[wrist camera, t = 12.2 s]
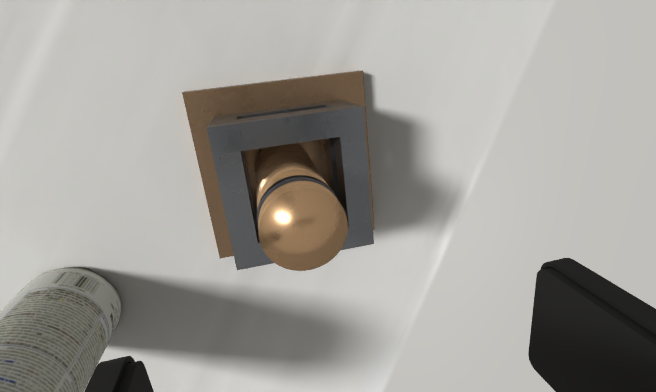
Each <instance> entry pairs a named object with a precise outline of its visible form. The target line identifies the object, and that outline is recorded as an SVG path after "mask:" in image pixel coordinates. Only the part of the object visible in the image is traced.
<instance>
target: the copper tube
mask: <svg viewBox="0 0 656 392" xmlns="http://www.w3.org/2000/svg"><path fill="white" fill-rule="evenodd" d="M255 178H256V196H257V228H258V232H259V240H260V243H261V246H262V248H263V250H264V252H265V254H266V255H267V256H268V257H269V258H270V259H271V260H272V261H273V262H274V263H276V264H277V265H279V266H281V267H283V268H286V269H290V270H297V271H305V270H311V269H315V268H318V267H320V266H322V265H324V264H326V263H328V262H329V261H330V260H332V259H333V258H334V257H335V256H336V255H337V254H338V253H339V251H340V250H341V248H342V247H343V245H344V243H345V240H346V237H347V233H348V221H347V216H346V214H345V211H344V209H343V207H342V206H341V203H340V201H339V199H338V198H337V196H336V195H335V193H334V192H333V190H332V189H331V188H330V187H329V186H328V184H327V183H326V181H325V180H324V178H323V177H322V175H321V174H320V172H319V171H318V169H317V168H316V166H315V164H314V163H313V161H312V160H311V158H310V157H309V155H308V154H307V152H306V151H305V150H304V149H303V148H302V147H301V146H300V145H298V144H296V143H294V144H287V145H280V146H273V147H266V148H264V149H263V150H262V151H261V152H260V153H259V155H258V157H257V159H256V163H255Z"/></svg>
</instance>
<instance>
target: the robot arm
mask: <svg viewBox="0 0 656 392" xmlns="http://www.w3.org/2000/svg"><path fill="white" fill-rule="evenodd" d="M529 360H530V362H531V364H532V366H533V368H534V369H535V370H536V371H537V372H538V373H539V374H540V376H541V377H542V378H543V379H544V380H545V381H546V382H547V383H548V384H549V385H550V386H551V387H552V388H553V389H554V390H555V391H556V392H656V309H655V308H653V307H652V306H650V305H648V304H646V303H645V302H643V301H642V300H640V299H638V298H637V297H635V296H633V295H631V294H630V293H628V292H626V291H625V290H623V289H621V288H620V287H618V286H616V285H615V284H613V283H611V282H610V281H608V280H606V279H605V278H603V277H601V276H600V275H598V274H596V273H595V272H593V271H591V270H590V269H588V268H586V267H585V266H583V265H581V264H580V263H578V262H576V261H575V260H573V259H570V258H563V259H559V260H554V261H550V262H546V263H544V264H543V265H542V267H541V270H540V271H539V272H538V273H537V278H536V288H535V297H534V307H533V317H532V326H531V335H530V345H529ZM84 392H154V391H153V388H152V386H151V383H150V380H149V377H148V374H147V371H146V369H145V366H144V364H143V362H142V361H137V362H135V361H134V359H133V358H132V357H131V356H126V357H122V358H118V359H113V360H109V361H104V362H101V363H99V364H98V365H97V367H96V368H95V370H94V372H93V375H92V377H91V379H90V381H89V383H88V385H87V387H86V389H85V391H84Z"/></svg>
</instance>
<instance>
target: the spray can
mask: <svg viewBox="0 0 656 392" xmlns="http://www.w3.org/2000/svg"><path fill="white" fill-rule="evenodd" d="M120 314H121V301H120V296H119V295H118V293H117V291H116V289H115V288H114V287H113V286H112V285H111V284H110V283H109V282H107V281H106V280H105V279H104V278H103V277H102V276H100V275H98V274H96V273H94V272H92V271H89V270H87V269H84V268H62V269H57V270H53V271H50V272H46V273H43V274H42V275H40V276H38V277H37V278H35V279H34V280H33V281H31V282H30V283H28V284H27V285H26V286H25V287H24V288H23V289H22V290H21V291H20V292H19V293H18V294H17V295H16V296H15V297H14V298H13V299H12V300H11V301H10V302H9V303H8V304H7V305H6V306H5V307H4V308H3V309H2V310H1V311H0V392H84V390H85V388H86V386H87V384H88V382H89V380H90V378H91V376H92V374H93V372H94V370H95V368H96V366H97V364H98V362H99V360H100V358H101V356H102V354H103V352H104V350H105V348H106V346H107V344H108V342H109V340H110V338H111V336H112V334H113V332H114V330H115V329H116V327H117V325H118V322H119V319H120Z"/></svg>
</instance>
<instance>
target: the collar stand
mask: <svg viewBox="0 0 656 392" xmlns="http://www.w3.org/2000/svg"><path fill="white" fill-rule="evenodd" d="M182 94H183V98H184V102H185V107H186V111H187V116H188V120H189V124H190V129H191V133H192V137H193V142H194V146H195V151H196V155H197V159H198V164H199V168H200V172H201V177H202V181H203V186H204V190H205V194H206V199H207V203H208V208H209V212H210V216H211V221H212V225H213V229H214V234H215V238H216V243H217V247H218V251H219V256H220V258H224V257H229V256H234V258H235V263H236V267H237V270H240V269H245V268H251V267H256V266H261V265H266V264H271V263H274V262H273V261H272V260H271V259H270V258H269V257H268V256H267V255H266V254H265V252H264V250H263V248H262V246H261V243H260V240H259V232H258V228H257V196H256V178H255V163H256V159H257V157H258V155H259V153H260V152H261V151H262V150H263V149H264V148H266V147H273V146H280V145H287V144H294V143H296V144H298V145H300V146H301V147H302V148H303V149H304V150H305V151H306V152H307V154H308V155H309V157H310V158H311V160H312V161H313V163H314V164H315V166H316V168H317V169H318V171H319V172H320V174H321V175H322V177H323V178H324V180H325V181H326V183H327V184H328V186H329V187H330V188H331V189H332V190H333V192H334V193H335V195H336V196H337V198H338V199H339V201H340V203H341V206H342V207H343V209H344V211H345V214H346V216H347V221H348V233H347V237H346V240H345V243H344V245H343V247H342V248H341V250H344V249H349V248H354V247H360V246H365V245H370V244H374V240H373V230H374V218H373V204H372V191H371V177H370V163H369V150H368V136H367V122H366V109H365V95H364V81H363V71H353V72H344V73H336V74H328V75H320V76H311V77H303V78H295V79H286V80H278V81H270V82H261V83H253V84H245V85H236V86H228V87H220V88H211V89H203V90H195V91H186V92H182Z"/></svg>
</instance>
